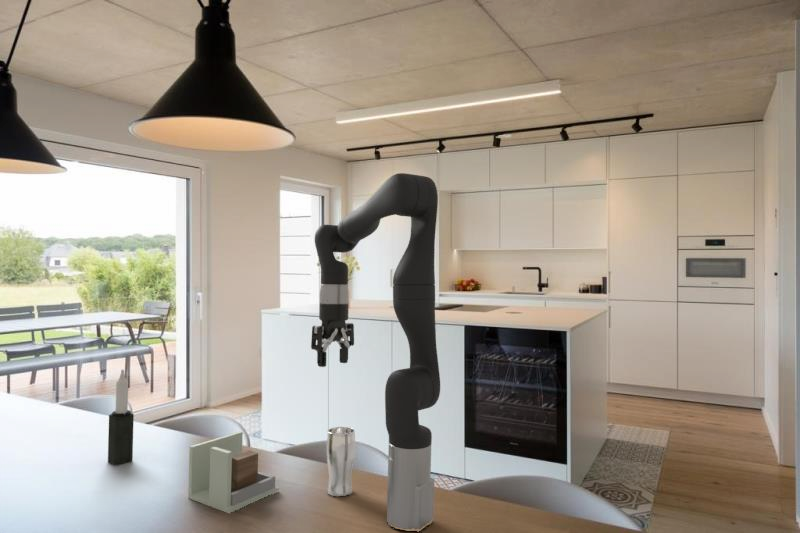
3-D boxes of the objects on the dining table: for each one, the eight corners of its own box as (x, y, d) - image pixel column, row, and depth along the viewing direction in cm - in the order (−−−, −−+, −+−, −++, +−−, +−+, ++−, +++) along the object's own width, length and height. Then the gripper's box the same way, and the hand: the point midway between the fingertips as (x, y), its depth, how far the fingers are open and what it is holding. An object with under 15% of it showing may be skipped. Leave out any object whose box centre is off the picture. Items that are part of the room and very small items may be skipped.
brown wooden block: (257, 491, 135) (258, 453, 135) (236, 499, 130) (238, 460, 130) (248, 488, 136) (249, 450, 136) (228, 496, 131) (229, 457, 131)
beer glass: (327, 499, 134) (329, 435, 134) (323, 488, 140) (324, 427, 140) (356, 496, 135) (358, 433, 135) (351, 485, 142) (352, 425, 142)
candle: (115, 466, 151) (117, 372, 151) (106, 461, 154) (108, 369, 154) (134, 461, 155) (136, 369, 155) (124, 456, 158) (127, 367, 158)
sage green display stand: (278, 491, 137) (279, 437, 137) (229, 513, 125) (230, 454, 125) (238, 478, 145) (239, 427, 145) (188, 498, 132) (189, 442, 132)
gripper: (326, 303, 140) (325, 369, 139) (362, 301, 151) (361, 362, 151) (304, 302, 144) (303, 366, 143) (340, 300, 156) (339, 360, 155)
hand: (333, 364), depth 147 cm, fingers open, 8 cm apart
